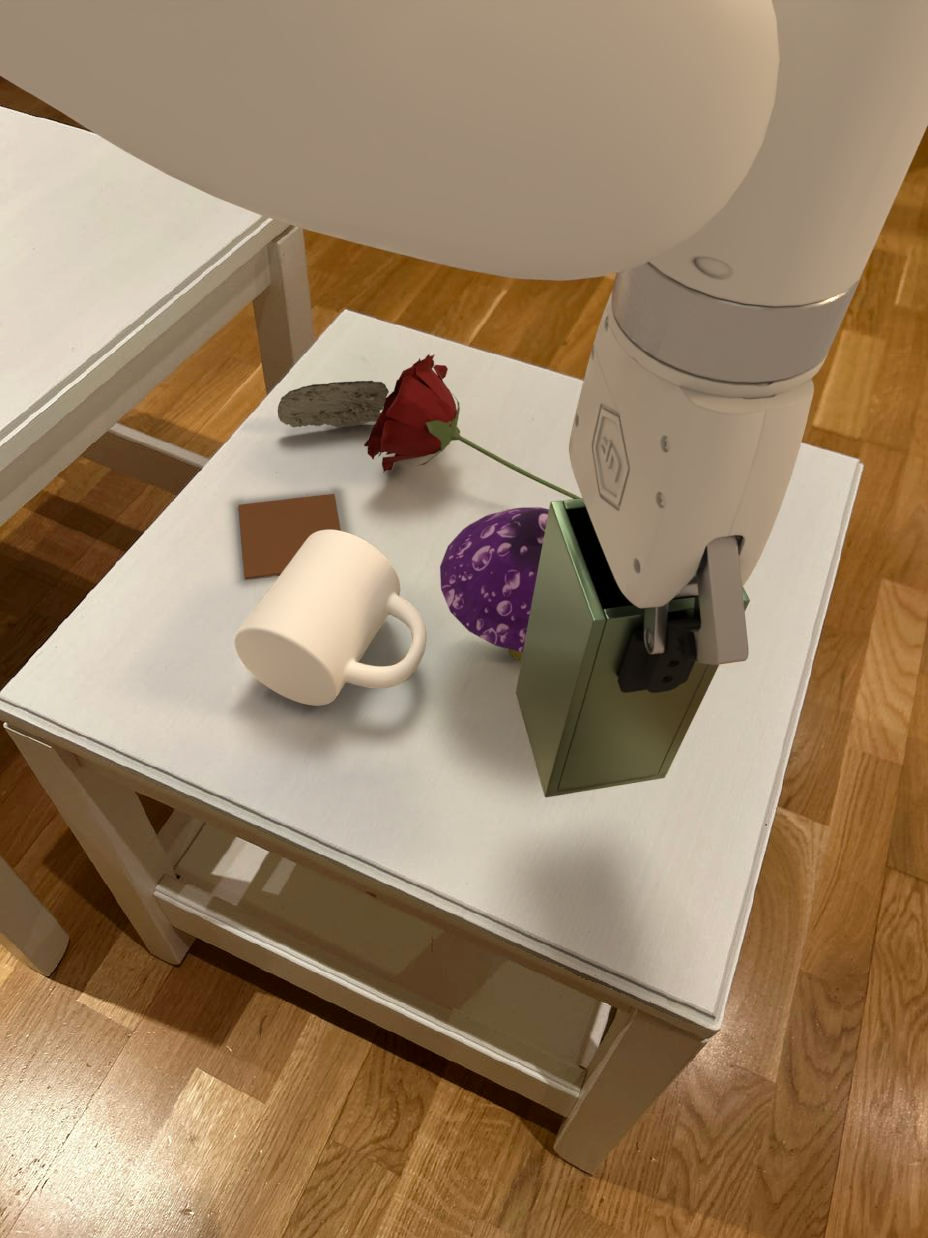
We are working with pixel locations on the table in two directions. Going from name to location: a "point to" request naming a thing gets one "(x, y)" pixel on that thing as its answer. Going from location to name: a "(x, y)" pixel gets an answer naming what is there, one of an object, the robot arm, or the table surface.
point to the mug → (328, 621)
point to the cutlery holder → (594, 670)
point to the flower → (424, 420)
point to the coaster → (281, 530)
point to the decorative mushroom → (495, 575)
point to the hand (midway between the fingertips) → (625, 615)
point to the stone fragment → (333, 404)
